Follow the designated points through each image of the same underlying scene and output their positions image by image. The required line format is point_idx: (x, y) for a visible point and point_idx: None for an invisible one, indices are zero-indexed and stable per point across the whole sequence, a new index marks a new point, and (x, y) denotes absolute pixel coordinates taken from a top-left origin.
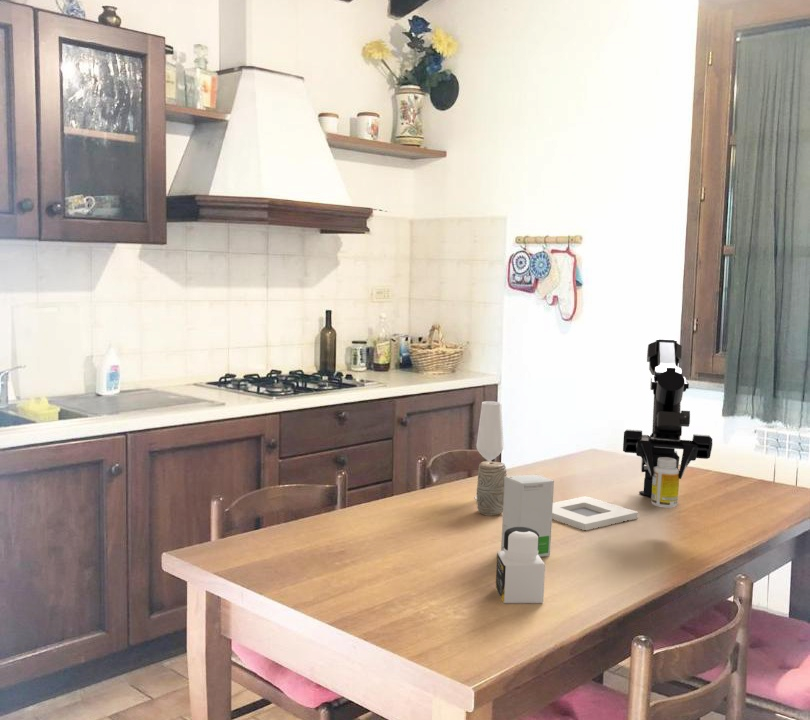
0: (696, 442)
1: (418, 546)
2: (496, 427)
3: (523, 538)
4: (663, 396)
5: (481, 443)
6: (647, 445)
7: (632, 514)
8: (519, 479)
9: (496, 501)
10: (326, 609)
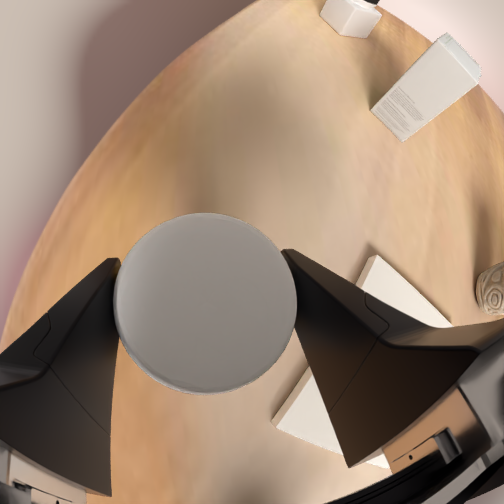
0: None
1: (465, 132)
2: None
3: None
4: None
5: None
6: (456, 336)
7: (288, 408)
8: (462, 48)
9: (493, 270)
10: (417, 34)
